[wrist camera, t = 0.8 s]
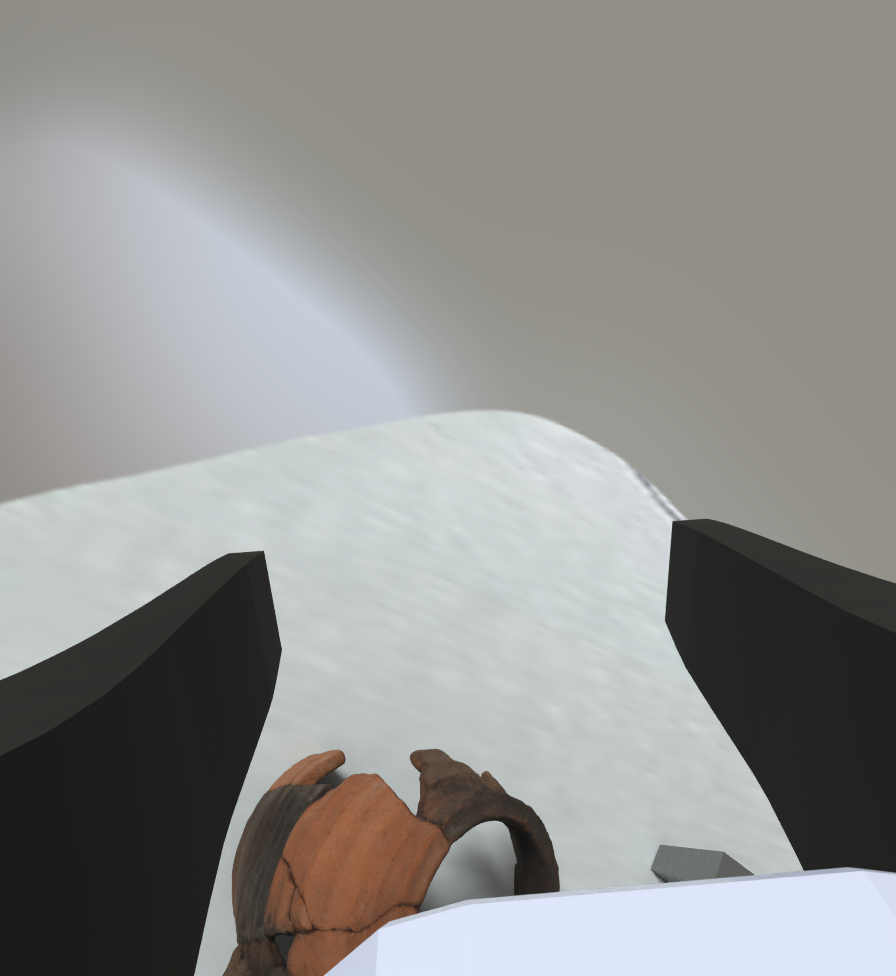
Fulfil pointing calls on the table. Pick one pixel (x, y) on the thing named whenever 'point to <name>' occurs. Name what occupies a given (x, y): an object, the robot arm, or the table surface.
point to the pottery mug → (360, 857)
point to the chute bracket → (695, 864)
